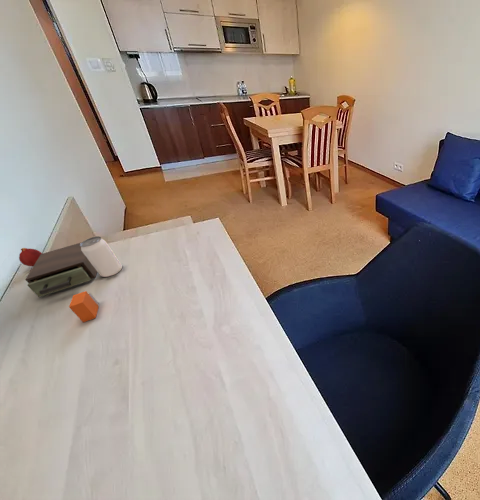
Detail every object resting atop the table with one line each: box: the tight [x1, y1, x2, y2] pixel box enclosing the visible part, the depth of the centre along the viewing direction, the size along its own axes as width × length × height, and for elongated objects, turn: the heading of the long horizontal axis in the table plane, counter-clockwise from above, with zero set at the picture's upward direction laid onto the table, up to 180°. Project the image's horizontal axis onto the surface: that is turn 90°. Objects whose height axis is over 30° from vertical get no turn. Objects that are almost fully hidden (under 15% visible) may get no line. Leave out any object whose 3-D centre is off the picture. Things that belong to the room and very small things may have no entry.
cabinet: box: [25, 241, 98, 284], centre depth 99 cm, size 16×15×7 cm
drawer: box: [27, 265, 92, 298], centre depth 96 cm, size 19×13×5 cm
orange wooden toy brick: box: [68, 290, 100, 323], centre depth 82 cm, size 3×7×6 cm, turn 28°
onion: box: [18, 247, 43, 267], centre depth 105 cm, size 6×6×8 cm
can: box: [80, 236, 123, 278], centre depth 96 cm, size 6×6×12 cm
